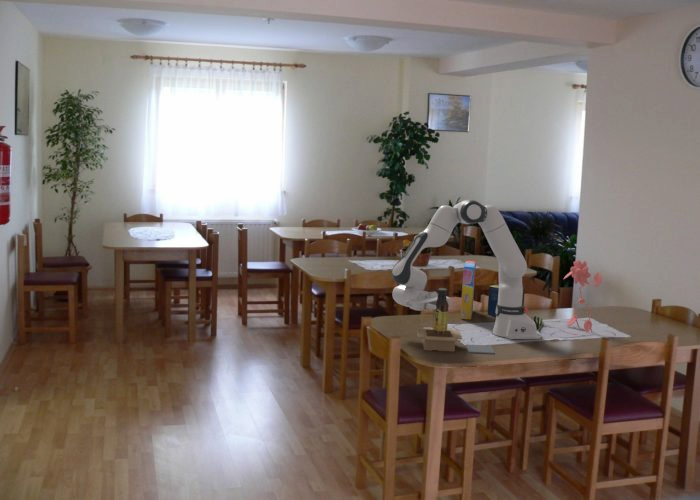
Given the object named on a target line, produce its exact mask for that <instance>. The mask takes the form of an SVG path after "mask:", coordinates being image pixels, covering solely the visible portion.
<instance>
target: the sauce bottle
mask: <svg viewBox="0 0 700 500" xmlns="http://www.w3.org/2000/svg"><path fill="white" fill-rule="evenodd" d="M437 294H438V298H437V301H436V303H435V305H437V306H438V307H437V309H435V310H434V309H433V322H432V328H433V332H434V333H436V334H446V333H447V328H448V325H449V324H448V323H449V307H448V306H449V305H448V302H447V300H446V299H447V298H446V296H447V295H448V288H445V287H439V288H438V289H437Z"/></svg>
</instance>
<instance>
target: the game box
mask: <svg viewBox="0 0 700 500" xmlns="http://www.w3.org/2000/svg"><path fill="white" fill-rule="evenodd" d="M476 266H477V261H474V260H465V262H464V265H463V272H462V273H463V274H462V287H461V304H460V315H459V317H460V319H461V320H472V316H473V312H474V311H473V310H474V299H475V298H474V296H475V285H476V284H475V281H476Z"/></svg>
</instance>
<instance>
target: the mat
mask: <svg viewBox="0 0 700 500" xmlns="http://www.w3.org/2000/svg"><path fill="white" fill-rule="evenodd" d="M465 347H466V350H467V352H468V354H486V355H487V354H488V355H495V354H496V353H495V351H494V348H493V347H492V345H489V344H488V345H486V344H468V343H467V344H466V343H465Z"/></svg>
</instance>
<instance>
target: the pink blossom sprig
mask: <svg viewBox="0 0 700 500" xmlns="http://www.w3.org/2000/svg"><path fill="white" fill-rule="evenodd" d="M570 276H571V277H572V278H573V281H574V284H578V283H579V284H580V285H581V286H579V289H578V290H579V293H580V298H579V299H578V301H576V302H575V303H574V314H575V315H574V316H572V317H571V318H570V319H568V320H569V321H567V325H566V327H567V328H568V327H570V326H572V325H574V323H576V325H577V327H578V328H579V327H580V326H579V321H578V320H577V319H578V315H576V310H577V307H576V306H577V304H578V303H579V304H582V305H583V304H585V305H586V306H587V307H589V308H591V310H590V313H589V317H588V319H587V320H585V322H584V323H583V329H584V331H585V333H589V331H591V333H592V332H593V329H592V327H593V324H592V320H590V318H591V315H592V311H593V307H592V306H590V305H589V304H587V303H586V300H585V298H583V297H582V291H581V288H584V286H587V285H591V286H593V287H595V288H596V287H599V286H600V285H601V283H602V282H603V276H602V274H601V273H599V272H597V273H595V274H594V277H593V282H594V284H593V283H590V282H589V281H588V279H589V278H591V273H590V272H589V267H588V265H587V262H586V260H583V261H581V260H579V259H577V260H575V261H573V266H571V267H570V271H569V272H568V273H567V274H566V275H565V276H564V278H563V280H565V279H567V278H569V277H570ZM558 330H559V331H562V332H563V333H567V334H568V332H566V331H564V330H562V329H560V328H558ZM569 334H570V335H575V336H577V334H576V333H569ZM581 336H584V337H585V336H586V335H583V334H582V335H581Z"/></svg>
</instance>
